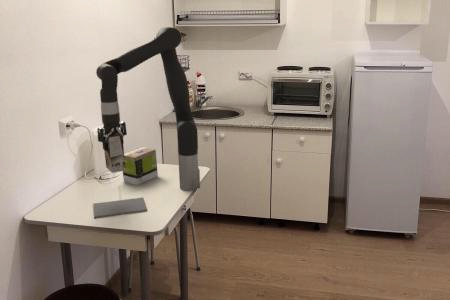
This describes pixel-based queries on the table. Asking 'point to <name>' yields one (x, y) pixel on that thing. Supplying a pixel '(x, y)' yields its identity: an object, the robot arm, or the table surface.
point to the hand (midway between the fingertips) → (113, 148)
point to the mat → (119, 207)
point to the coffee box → (115, 153)
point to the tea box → (140, 165)
